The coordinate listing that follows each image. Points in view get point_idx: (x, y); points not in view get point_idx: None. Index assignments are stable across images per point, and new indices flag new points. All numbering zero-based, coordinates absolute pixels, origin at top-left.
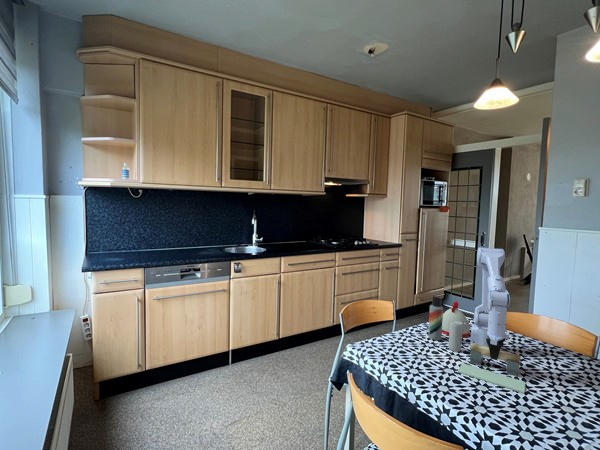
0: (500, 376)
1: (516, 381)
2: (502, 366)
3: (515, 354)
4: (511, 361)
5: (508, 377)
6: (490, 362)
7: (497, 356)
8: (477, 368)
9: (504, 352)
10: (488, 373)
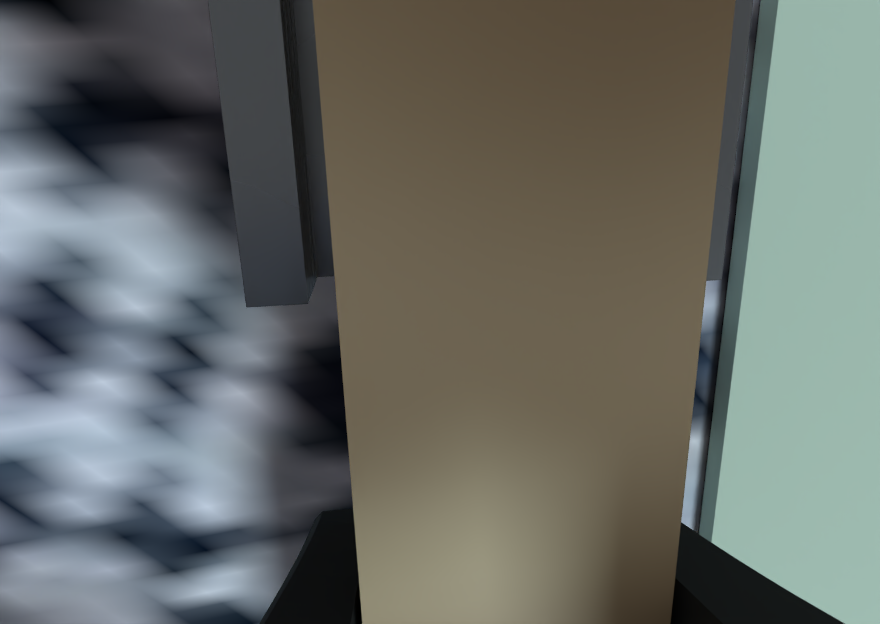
0: (822, 280)
1: (870, 20)
2: (286, 316)
3: (351, 40)
4: (721, 155)
5: (784, 163)
6: (279, 502)
7: (688, 536)
8: None
9: (481, 467)
10: (814, 442)
